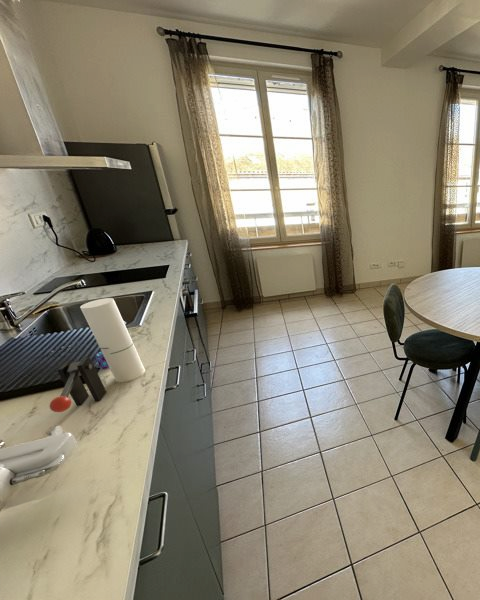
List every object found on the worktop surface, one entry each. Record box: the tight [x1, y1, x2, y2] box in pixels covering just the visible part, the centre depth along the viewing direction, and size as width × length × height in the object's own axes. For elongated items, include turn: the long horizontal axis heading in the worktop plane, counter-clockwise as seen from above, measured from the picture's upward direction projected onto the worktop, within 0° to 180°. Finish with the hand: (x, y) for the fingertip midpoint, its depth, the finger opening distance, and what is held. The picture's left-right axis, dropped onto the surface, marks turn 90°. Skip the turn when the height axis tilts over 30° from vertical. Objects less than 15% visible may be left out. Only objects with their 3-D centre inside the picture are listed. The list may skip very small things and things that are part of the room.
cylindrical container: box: [79, 297, 146, 383], centre depth 95 cm, size 7×7×25 cm
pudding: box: [94, 350, 110, 370], centre depth 106 cm, size 12×12×5 cm
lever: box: [49, 360, 82, 413], centre depth 81 cm, size 14×4×4 cm, turn 22°
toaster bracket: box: [56, 356, 107, 408], centre depth 87 cm, size 12×9×13 cm
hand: (28, 435), depth 68 cm, fingers open, 8 cm apart
